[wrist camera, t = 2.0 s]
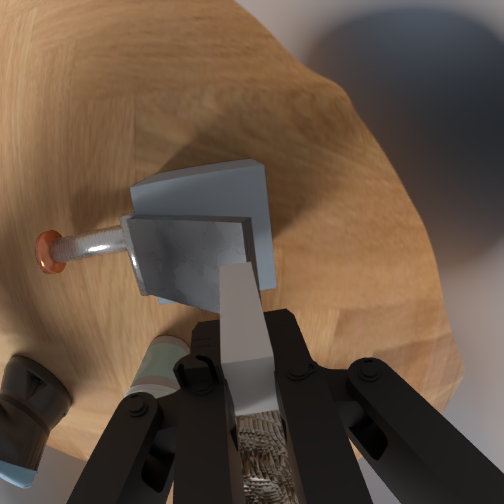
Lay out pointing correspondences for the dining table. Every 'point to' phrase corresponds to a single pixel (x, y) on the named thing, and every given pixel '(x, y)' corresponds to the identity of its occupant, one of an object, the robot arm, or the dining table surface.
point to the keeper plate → (187, 254)
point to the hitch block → (214, 202)
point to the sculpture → (265, 459)
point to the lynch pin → (76, 247)
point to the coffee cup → (159, 367)
